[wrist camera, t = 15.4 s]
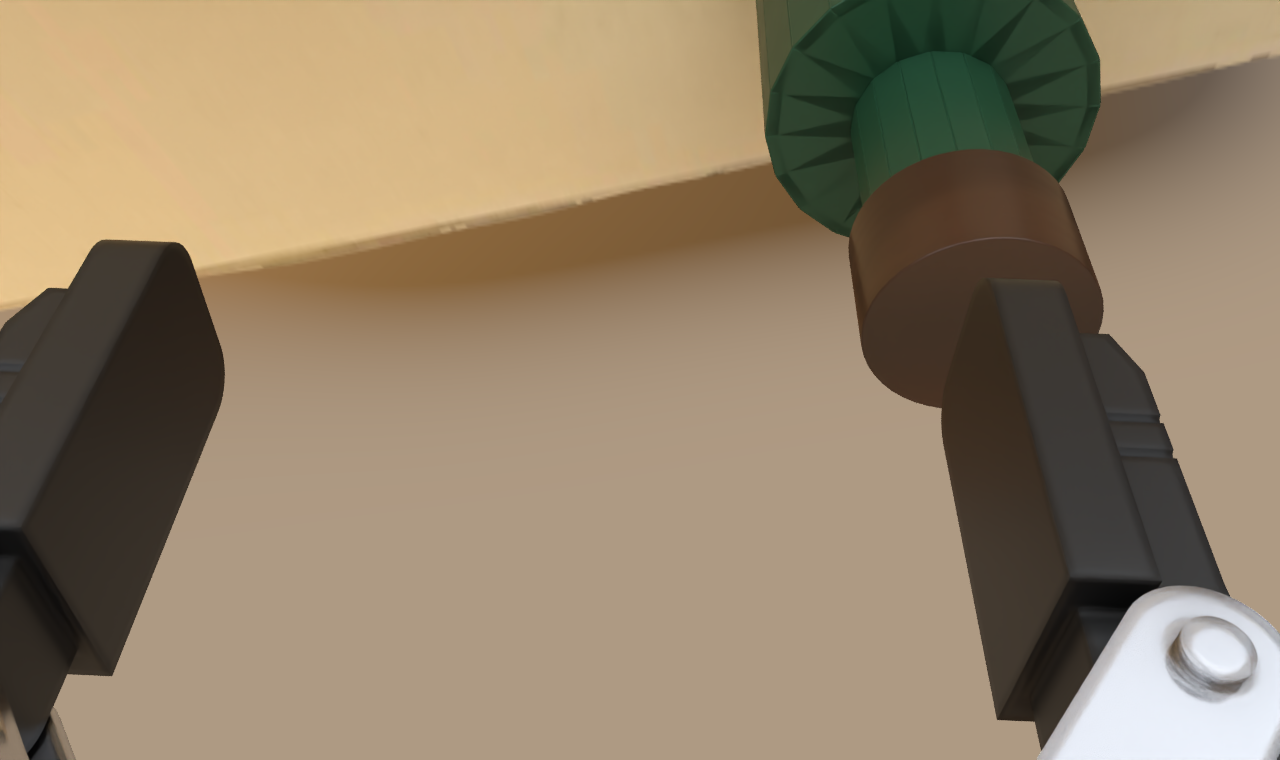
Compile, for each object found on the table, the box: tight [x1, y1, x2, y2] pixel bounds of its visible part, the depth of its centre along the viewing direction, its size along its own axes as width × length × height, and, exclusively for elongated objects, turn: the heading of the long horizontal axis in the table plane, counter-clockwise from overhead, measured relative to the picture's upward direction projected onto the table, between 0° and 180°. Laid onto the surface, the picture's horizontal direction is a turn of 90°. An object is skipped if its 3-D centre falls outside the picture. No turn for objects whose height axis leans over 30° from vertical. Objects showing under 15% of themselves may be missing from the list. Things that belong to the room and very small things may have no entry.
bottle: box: [756, 0, 1101, 238], centre depth 34 cm, size 9×9×19 cm
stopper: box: [849, 149, 1104, 408], centre depth 27 cm, size 5×5×6 cm
